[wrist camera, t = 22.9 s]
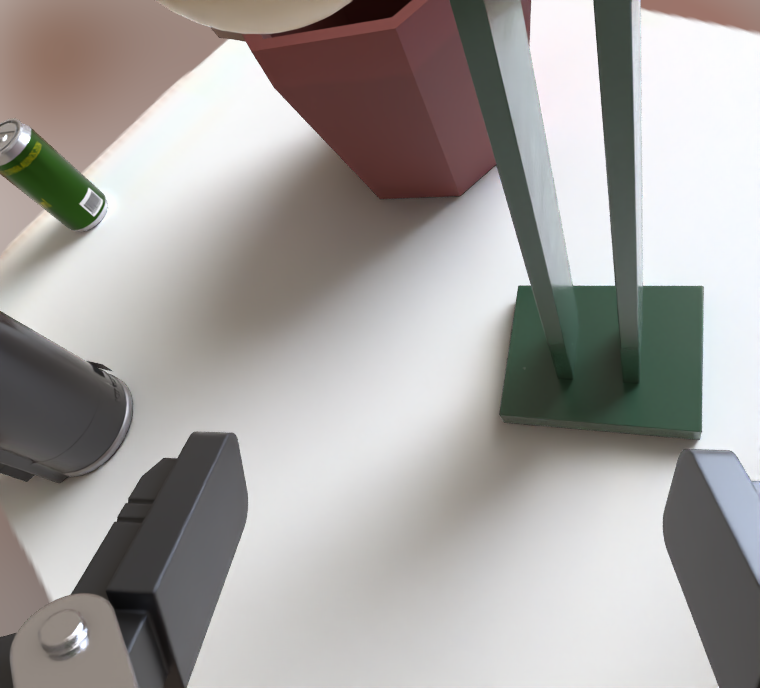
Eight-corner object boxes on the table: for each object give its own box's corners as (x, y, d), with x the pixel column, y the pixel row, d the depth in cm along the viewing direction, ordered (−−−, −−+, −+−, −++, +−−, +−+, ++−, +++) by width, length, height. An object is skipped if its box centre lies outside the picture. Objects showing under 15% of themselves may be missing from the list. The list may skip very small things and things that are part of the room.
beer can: (116, 191, 71) (30, 111, 61) (101, 231, 69) (10, 154, 59) (79, 198, 73) (-10, 122, 63) (64, 236, 71) (-31, 163, 61)
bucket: (533, 5, 61) (475, -343, 40) (622, 162, 49) (604, -214, 29) (305, 110, 66) (149, -152, 45) (336, 274, 55) (147, 23, 34)
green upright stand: (700, 440, 39) (867, -330, 9) (503, 422, 43) (209, -121, 14) (702, 297, 42) (824, -558, 13) (521, 295, 47) (321, -334, 18)
